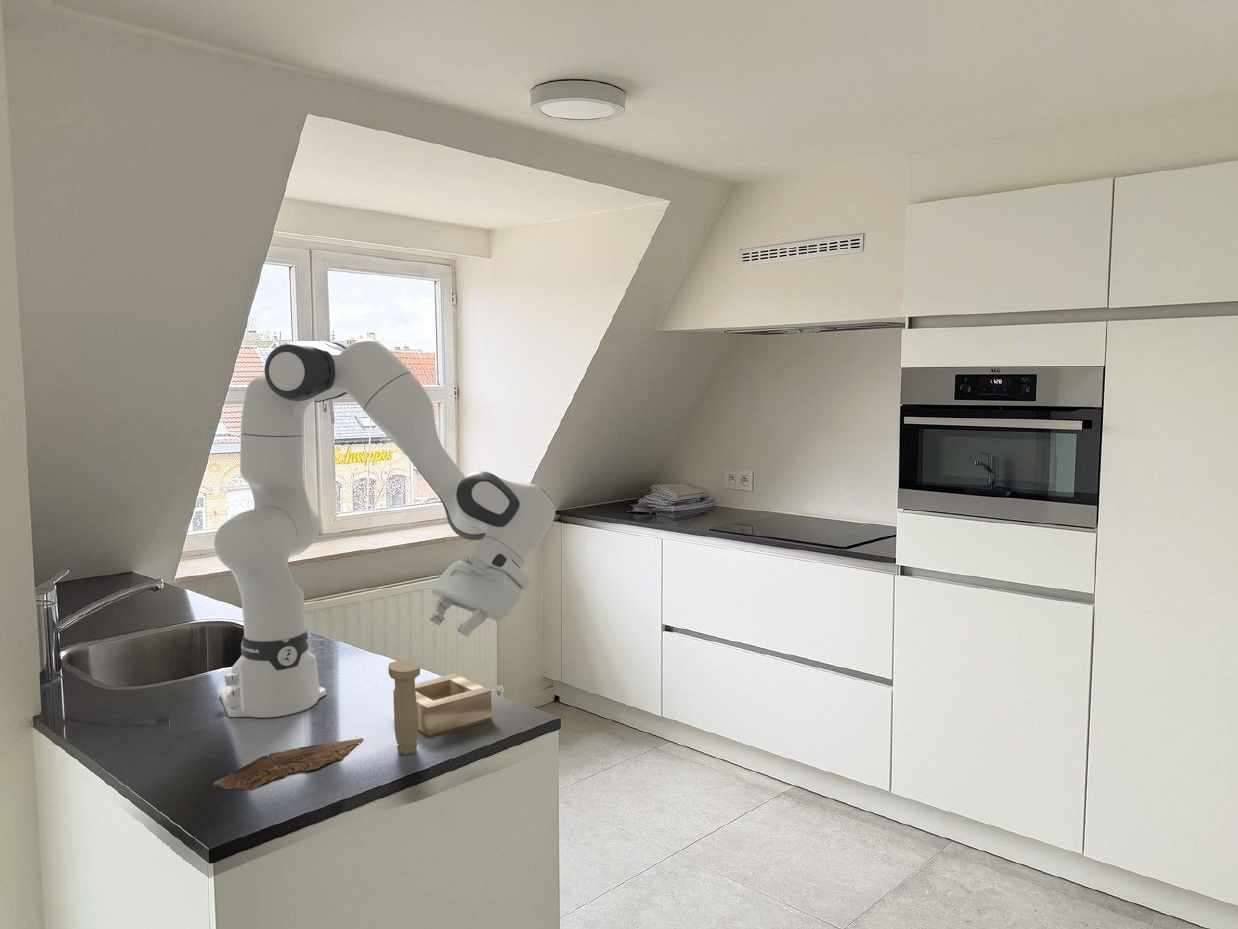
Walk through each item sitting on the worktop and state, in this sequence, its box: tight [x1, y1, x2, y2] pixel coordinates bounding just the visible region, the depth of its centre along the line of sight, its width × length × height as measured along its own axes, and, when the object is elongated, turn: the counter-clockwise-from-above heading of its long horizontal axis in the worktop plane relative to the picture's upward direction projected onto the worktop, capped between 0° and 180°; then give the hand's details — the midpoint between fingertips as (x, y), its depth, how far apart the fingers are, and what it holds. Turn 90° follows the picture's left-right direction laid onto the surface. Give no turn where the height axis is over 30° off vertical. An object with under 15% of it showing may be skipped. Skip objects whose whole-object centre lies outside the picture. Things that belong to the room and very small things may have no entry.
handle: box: [387, 659, 421, 756], centre depth 156 cm, size 5×6×15 cm
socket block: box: [392, 673, 493, 739], centre depth 171 cm, size 13×13×6 cm
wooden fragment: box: [212, 737, 365, 791], centre depth 153 cm, size 26×11×1 cm, turn 132°
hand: (447, 628), depth 160 cm, fingers open, 8 cm apart
